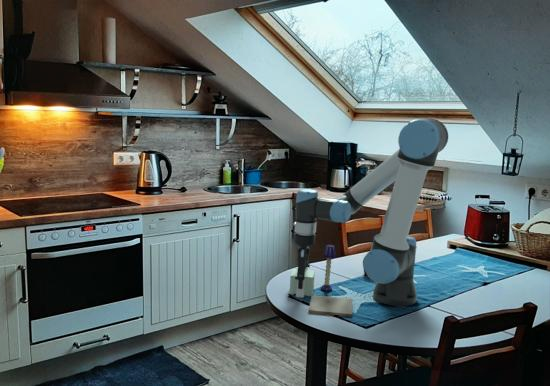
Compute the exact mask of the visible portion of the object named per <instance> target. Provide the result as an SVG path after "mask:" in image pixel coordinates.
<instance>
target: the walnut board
mask: <svg viewBox="0 0 550 386" xmlns="http://www.w3.org/2000/svg"><path fill="white" fill-rule="evenodd" d="M310 297H311V298H310V302H309V307H308V314H316V315H325V316H326V315H327V316H334V315H340V316H339V317H345V316H348V317H349V318H353V298H345V297H337V296H334V297H333V296H323V295H313V294H312V296H310ZM348 317H347V318H348Z"/></svg>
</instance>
